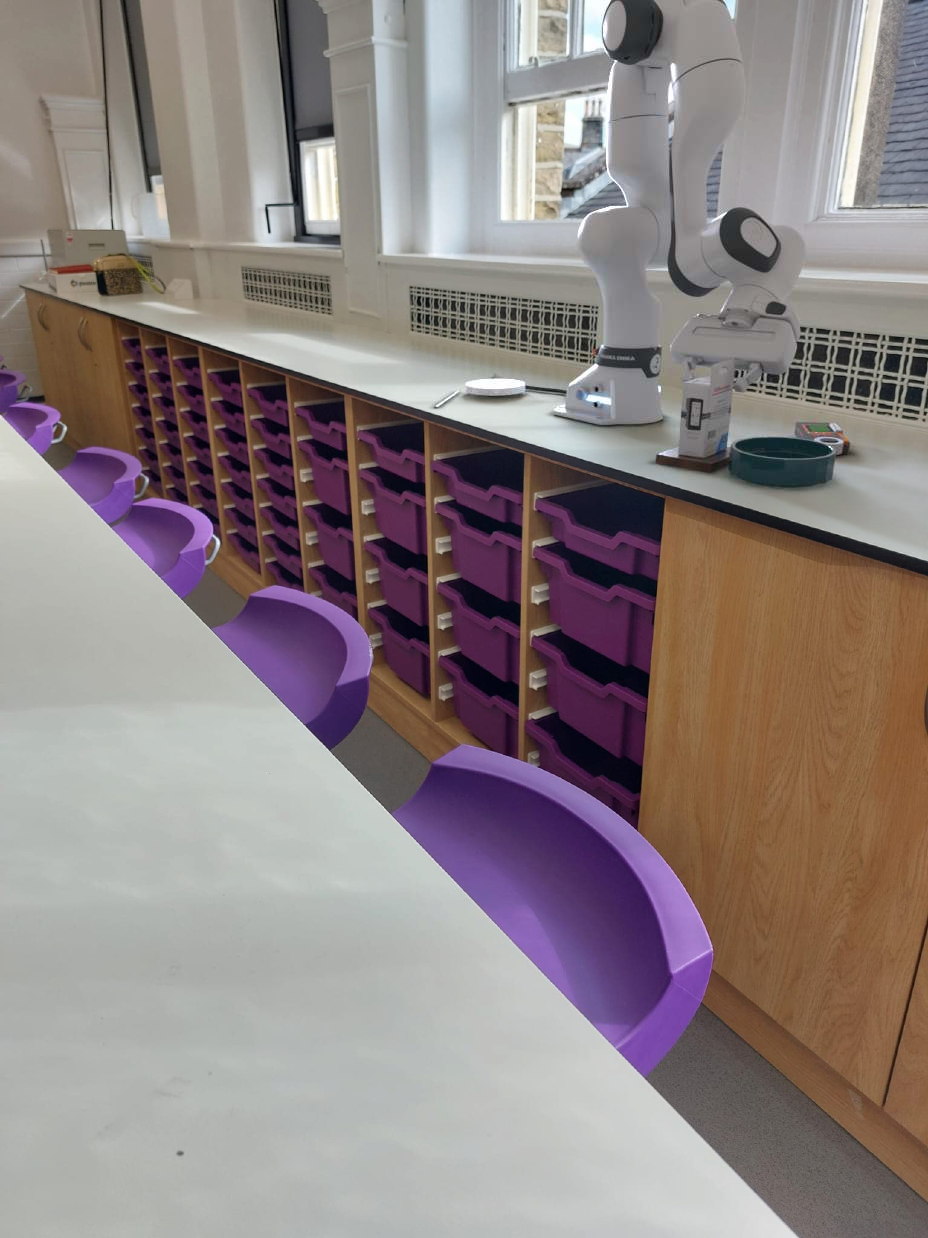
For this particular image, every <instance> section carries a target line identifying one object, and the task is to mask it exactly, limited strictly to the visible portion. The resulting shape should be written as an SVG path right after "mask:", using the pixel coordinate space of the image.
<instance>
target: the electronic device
mask: <svg viewBox="0 0 928 1238" xmlns="http://www.w3.org/2000/svg"><path fill="white" fill-rule="evenodd" d="M793 434H794V436H795V438H801V439H808V440H813V441H818V442H822V443H825V444H828V445H830V446H833V447H834V448H835V449H836V450H837V452H836V456H837V455H848V454H849V452H850V445H851V442H850V440H848V438H846V436H845V435H844V431H843V430H842V428H841V427H840V426H839V425H838V423H834V422H813V421H811V422H808V421H806V422H805V421H796V422H795V427H794V433H793Z"/></svg>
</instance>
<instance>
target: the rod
mask: <svg viewBox="0 0 928 1238" xmlns="http://www.w3.org/2000/svg"><path fill="white" fill-rule="evenodd" d="M459 393H460V392H459V391H458V390H456V391H455V392H453V393H452V394H450V395H449V396H446V398H445V399H443V400H442V401H440V402H439V403H437V404H436V405H434V406H433V407H434V409H439V408H440V407H442V406H443V405H445V404H446V403H448V401H450V400H451V399H453V398H454V397H455V396H457V395H459Z"/></svg>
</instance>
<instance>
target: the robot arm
mask: <svg viewBox="0 0 928 1238" xmlns="http://www.w3.org/2000/svg"><path fill="white" fill-rule="evenodd" d="M601 39H602V45H603V47H604V51H605V53H606V55H607V56H608V57H609V59H610V60H612V61H614V63H613V65H612V66H611V70H610V75H609V81H608V89H607V98H606V112H605V115H606V119H605V120H606V121H605V122H606V125H605V128H606V129H605V130H606V169H607V173H608V176H609V177H610V179H612V181H614V182H615V184H617V185H618V186H619V189H621V192H622V194H623V196H624V199H625V202H626V205H622V206H621V205H620V206H619V205H617V206H615V205H613V206H608V207H605V208H602V209H597V210H595V211H592V212H590V213H588V214H587V215H586V216H585V217H584V219H583V220H582V222H581V223H580V226H579V229H578V233H577V238H576V244H577V251H578V254H579V257H580V258H581V260H582V261H583V263H584V264H585V265H586V266H587V267H588V268H589V269H590V270H591V271H592V273H593V275H594V277H595V278H596V281H597V284H598V286H599V290H600V295H601V298H602V305H603V330H602V331H603V333H602V334H603V335H602V337H603V338H602V344H601V345H600V346H599V347H597V348H594V349H593V348H592V349H590V351H591V352H592V353H591V354H590V356H591V357H592V356H595V359H594V362H593V363H594V364H592V366H590V367H589V368H587V369H586V370H585V371H584V372H582V373H581V374H580V375H578V376H577V377H576V378H574V379H573V380H572V381H571V382H570V383H569V385H568V386H567V389H561V388H553V387H543V386H534V385H528V384H527V385H526V384H525V390H530V391H538V392H545V393H546V392H547V393H555V394H556V393H557V394H564V395H565V398H564V399H565V400H564V404H562V405H559V406H556V407H555V408H554V409H553V415H555V416H559V417H564V418H568V419H573V420H576V421H581V422H584V423H585V422H586V423H589V424H595V425H599V426H611V425H643V424H649V423H657V422H659V421H661V420H663V419H664V417H663V412H662V406H661V398H660V397H661V396H660V393H661V386H660V385H659V383H660V382H659V381H660V379H659V376H660V373H661V367H662V366H661V365H662V354H663V352H662V349H663V347H662V345H661V336H662V335H661V334H662V323H663V321H662V320H663V304H662V302H661V300H660V298H659V297H658V296H656V295H655V294H654V293H653V292H652V291H651V288H650V285H649V284H648V283H649V282H648V279H647V273H646V270H654V269H655V270H657V269H665V268H667V271H668V275H669V278H670V280H671V282H672V283H673V284H674V286H675V287H676V288H677V289H678V290H679V291H680V292H682V293H683V294H685V295H687V296H690V297H694V298H700V297H704V296H707V295H708V294H709V293H711V292H713V290H715V289H717V288H718V287H720V286H721V285H722V284H725V283H726V282H729V283H730V284H731V285H732V286H731V287H732V288H731V290H730V293H729V295H728V297H727V298H726V301H725V302H724V304H723V306H722V308H721V310H720V311H719V313H718V314H717V315H716V314H711V315H710V314H709V315H707V314H704V313H703V314H697V315H696V316H693V317H691V318H689V319H687V321H685V323H684V325H683V326H682V328H681V329H680V330H679V331H678V333H677V335H676V336H675V338H674V339H673V341H672V342H671V344H670V346H669V352H670V355H671V357H672V359H673V361H674V362H675V364H677V365H681V366H682V365H683V371H684V372H683V374H682V376H681V377H680V382H681V385H683V382H687V381H691V380H694V379H697V378H696V376H695V374H694V373H693V371H695V370H696V368H697V367H703V368H711V367H712V365H713V364H716V363H719V362H723V361H727V360H731V359H735V368H734V371H739V372H740V371H741V372H746V373H745V374H744V375H743V376H737V377H736V379H735V381H734V384H733V390H734V392H736V393H741V394H742V393H743V394H745V393H746V392H747V389H748V388H749V386H750V385H752V384H753V383H754V382H756V381H757V380H759V379H761V377H762V375H763V374H767V375H777V376H781V375H783V374H784V373H786V372H788V370H789V369H790V367H791V366H792V363H793V361H794V358H795V356H796V352H797V349H798V344H797V342H798V341H799V340H800V338H801V334H802V333H801V327H800V322H799V318H798V316H797V314H796V311H795V309H794V307H793V306H791V305H790V304H786V303H784V302H785V301H786V300H787V299H788V298H789V297H790V295H791V293H792V292H793V290H794V288H795V285H796V284H797V281H798V279H799V277H800V276H801V273H802V270H803V267H804V264H805V261H806V260H805V259H806V253H807V251H806V249H807V247H806V241H805V240H804V238H803V237H802V235H801V233H800V232H798V231H797V230H796V229H794V228H793V227H790V226H788V225H784V224H783V225H782V224H779V225H778V224H777V225H774V224H770V223H768V222H767V221H766V220H765V219H764V218H763V217H761V215H760V214H758V213H757V212H756V211H754V210H752V209H750V208H747V207H742V206H739V207H737V206H736V207H733V208H731V209H729V210H728V211H726V212H724V213H723V214H720V215H719V216H717V217H716V218H714V219H712V220H711V221H710V222H709V223H708V203H707V201H708V199H707V182H708V176H709V172H710V170H711V167H712V164H713V163H714V161H715V159H716V157H717V155H718V154H719V152H720V150H721V149H722V148H723V146H724V144H725V143H726V142H727V140H728V139H729V137H730V136H731V135H732V133H733V132H734V131H735V129H736V128H737V126H738V125H739V122H740V121H741V119H742V117H743V115H744V112H745V107H746V101H747V100H746V98H747V82H746V75H745V68H744V61H743V55H742V51H741V47H740V46H741V44H740V41H739V38H738V34H737V30H736V28H735V24H734V21H733V18H732V16H731V13H730V11H729V8H728V6H727V3H726V2H725V1H724V0H610V1H609V3H608V5H607V7H606V9H605V11H604V15H603V18H602V24H601ZM670 85H671V87H672V95H673V96H672V97H673V111H674V112H673V131H672V132H673V133H672V139H671V144H670V141H669V140H670V139H669V137H670V135H669V134H670V133H669V118H670V115H669V113H670V112H669V89H670ZM721 370H727V368H724V367H723V368H722V369H721ZM493 379H500V378H499V377H498V373H494V374H493Z"/></svg>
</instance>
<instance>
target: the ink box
mask: <svg viewBox="0 0 928 1238" xmlns="http://www.w3.org/2000/svg"><path fill="white" fill-rule="evenodd" d="M723 367H724V368H727V369H726V371H724V372H720V371H721V370H723V369H722V368H723ZM734 368H735V359H731V360H727V361H723V362H719V363H716V364H713V365H712V367H711V369H710V375H708V374H707V375H705V376H702V377H698V378H696V379H694V380H691V381H687V382H683V384H682V396H681V407H680V408H681V409H680V422H679V432H678V435H679V436H678V446H677V447H678V455H685V456H691V457H697V458H706V457H709V456H711V455H713V454H716V453H718V452H720V451H723V450H725V449H727V447H728V440H729V431H730V421H731V412H732V402H733V394H734V393H733V392H734V383H735V370H734Z"/></svg>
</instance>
